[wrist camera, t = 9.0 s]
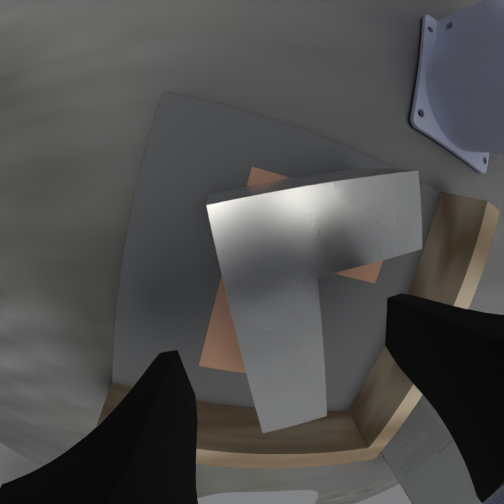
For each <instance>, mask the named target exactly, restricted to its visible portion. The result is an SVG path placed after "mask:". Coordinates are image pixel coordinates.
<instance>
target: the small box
mask: <svg viewBox="0 0 504 504" xmlns="http://www.w3.org/2000/svg"><path fill="white" fill-rule="evenodd" d="M381 453H382V455H383V456H384V458H385V460H386V461H387V463H388V464H389V466H390V468H391V469H392V471H393V473H394V474H395V476H396V478H397V479H398V481H399V483H400V484H401V486H402V488H403V489H404V491H405V493H406V494H407V496H408V498H409V499H410V501H411V502H412V504H482V503H481V501H480V500H479V499H478V497H477V496H476V492H475V489H474V486H473V483H472V480H471V477H470V474H469V472H468V469H467V467H466V464H465V462H464V460H463V458H462V456H461V453H460V451H459V449H458V447H457V445H456V443H455V442H454V440H453V438H452V436H451V434H450V432H449V431H448V429H447V427H446V426H445V424H444V422H443V421H442V419H441V418H440V416H439V415H438V413H437V412H436V410H435V409H434V408H433V406H432V405H431V404H430V402H429V401H428V400H427V399H426V398H425V397H424V395H422V396H421V398H420V400H419V401H418V403H417V404H416V406H415V407H414V408H413V410H412V411H411V413H410V414H409V416H408V417H407V418H406V420H405V421H404V423H403V424H402V425H401V427H400V428H399V429H398V431H397V432H396V433H395V435H394V436H393V437H392V439H391V440H390V441H389V442H388V444H387V445H386V446H385V447H384V449H383V450H382V451H381ZM501 488H502V487H501ZM494 494H495V493H494ZM488 499H489V498H488ZM483 503H484V502H483Z"/></svg>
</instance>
